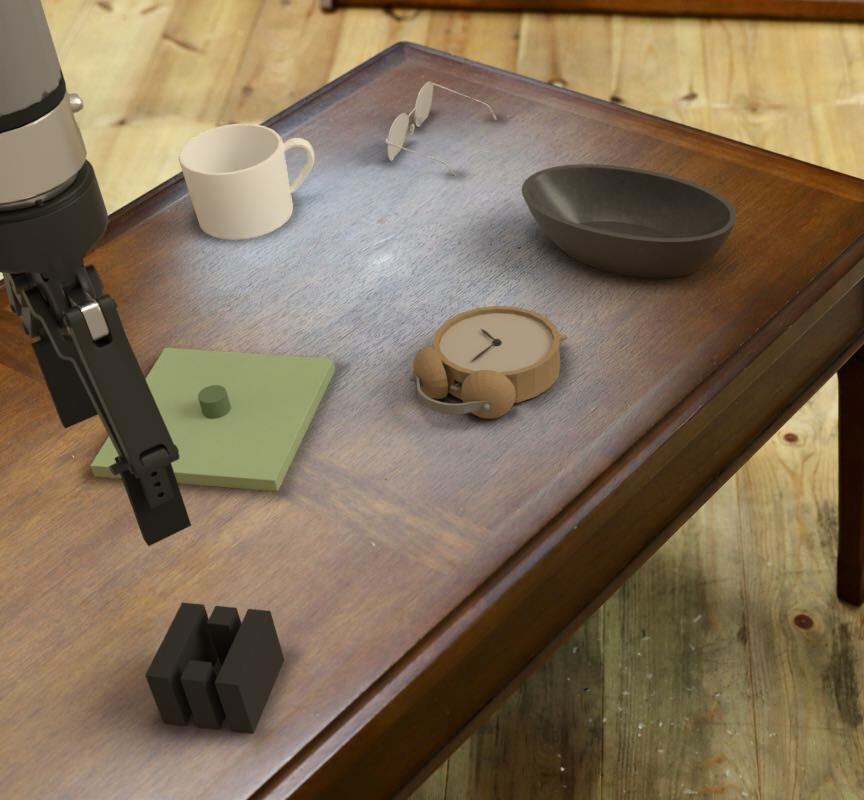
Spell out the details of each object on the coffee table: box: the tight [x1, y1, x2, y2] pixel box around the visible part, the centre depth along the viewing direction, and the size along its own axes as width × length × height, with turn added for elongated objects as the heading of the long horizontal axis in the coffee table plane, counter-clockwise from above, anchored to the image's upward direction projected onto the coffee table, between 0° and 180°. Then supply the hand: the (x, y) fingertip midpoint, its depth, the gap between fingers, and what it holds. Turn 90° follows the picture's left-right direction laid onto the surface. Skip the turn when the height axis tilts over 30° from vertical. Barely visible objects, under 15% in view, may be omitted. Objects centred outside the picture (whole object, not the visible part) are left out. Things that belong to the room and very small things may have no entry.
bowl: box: [521, 163, 738, 279], centre depth 135 cm, size 12×22×6 cm, turn 65°
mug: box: [178, 123, 316, 241], centre depth 143 cm, size 13×10×8 cm
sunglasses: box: [385, 81, 498, 177], centre depth 154 cm, size 14×8×5 cm, turn 163°
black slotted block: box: [144, 602, 285, 734], centre depth 95 cm, size 6×6×6 cm
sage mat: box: [90, 347, 336, 492], centre depth 118 cm, size 16×16×3 cm
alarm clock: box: [409, 305, 568, 420], centre depth 121 cm, size 11×5×15 cm
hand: (123, 472), depth 86 cm, fingers open, 13 cm apart
